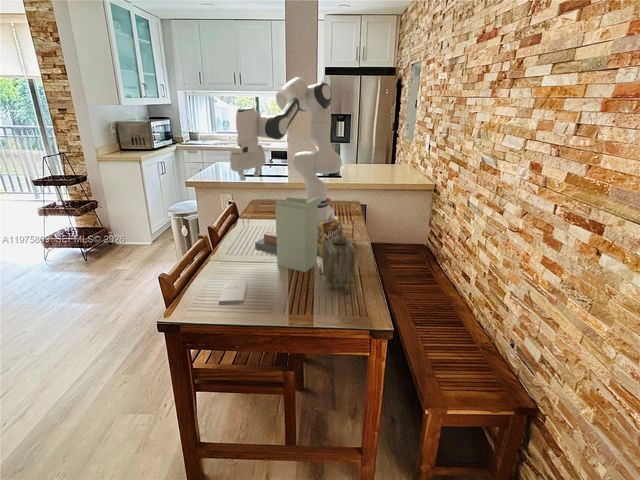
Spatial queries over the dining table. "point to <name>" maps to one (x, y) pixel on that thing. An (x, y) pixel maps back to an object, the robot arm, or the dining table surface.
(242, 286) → the external hard drive
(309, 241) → the shelf block
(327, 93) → the robot arm
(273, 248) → the grey board
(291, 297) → the dining table surface
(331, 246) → the grey-green rolling suitcase
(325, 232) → the candy box
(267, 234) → the slim box
